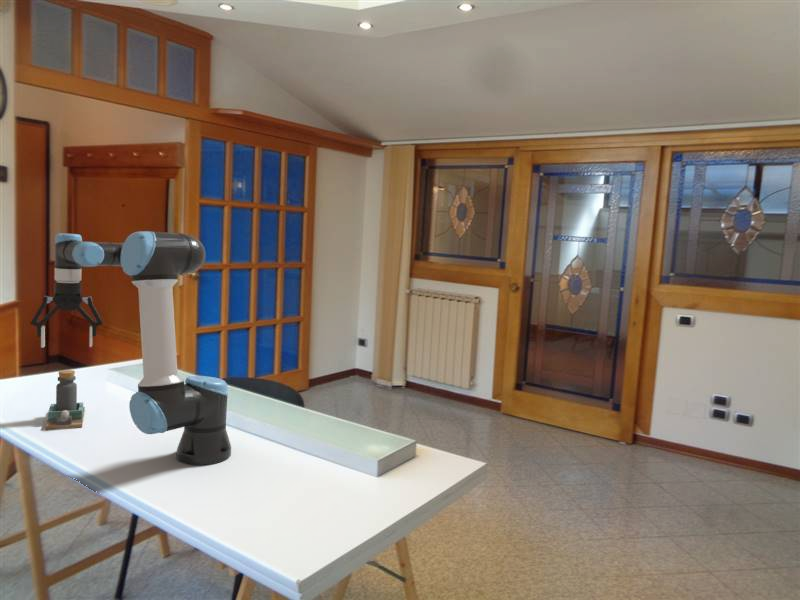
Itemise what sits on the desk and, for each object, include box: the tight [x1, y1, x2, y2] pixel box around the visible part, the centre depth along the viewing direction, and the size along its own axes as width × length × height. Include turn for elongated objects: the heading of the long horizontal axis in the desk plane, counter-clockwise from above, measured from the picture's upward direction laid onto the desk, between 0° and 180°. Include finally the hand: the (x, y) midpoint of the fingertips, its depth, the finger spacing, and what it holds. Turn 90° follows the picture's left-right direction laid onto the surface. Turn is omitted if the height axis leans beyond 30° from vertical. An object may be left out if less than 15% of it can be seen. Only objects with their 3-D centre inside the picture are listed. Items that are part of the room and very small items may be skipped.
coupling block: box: [44, 402, 86, 431], centre depth 192 cm, size 19×10×5 cm, turn 26°
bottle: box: [55, 369, 78, 411], centre depth 192 cm, size 6×6×15 cm
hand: (67, 346), depth 190 cm, fingers open, 13 cm apart
